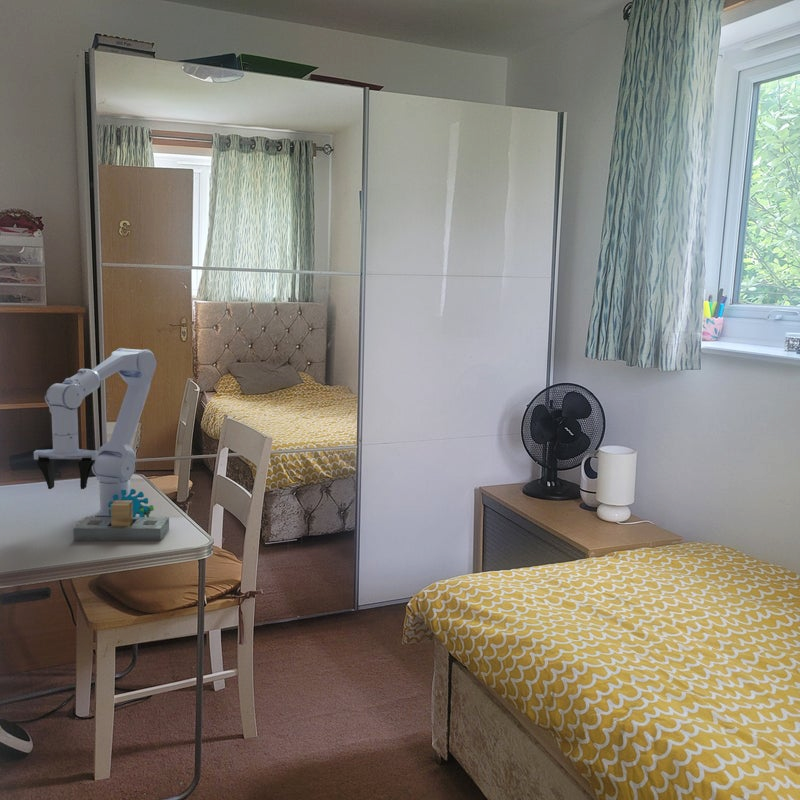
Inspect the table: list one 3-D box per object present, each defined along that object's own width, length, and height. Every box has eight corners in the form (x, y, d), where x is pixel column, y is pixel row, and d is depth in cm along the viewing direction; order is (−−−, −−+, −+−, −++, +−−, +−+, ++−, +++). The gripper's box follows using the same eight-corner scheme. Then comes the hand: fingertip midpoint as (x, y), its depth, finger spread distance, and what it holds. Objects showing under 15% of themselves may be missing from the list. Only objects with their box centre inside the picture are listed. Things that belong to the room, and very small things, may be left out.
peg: (116, 532, 187) (115, 500, 186) (133, 532, 187) (132, 500, 186) (111, 537, 183) (110, 505, 182) (128, 537, 183) (128, 505, 182)
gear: (102, 519, 191) (113, 485, 197) (105, 530, 196) (115, 496, 202) (147, 525, 192) (157, 490, 198) (149, 535, 197) (158, 501, 203)
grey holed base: (86, 528, 189) (85, 516, 188) (169, 528, 190) (168, 516, 190) (73, 540, 180) (73, 527, 179) (160, 540, 181) (160, 528, 181)
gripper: (27, 436, 180) (30, 492, 182) (90, 436, 181) (92, 492, 183) (39, 430, 187) (41, 484, 189) (100, 431, 188) (101, 484, 190)
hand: (67, 488), depth 186 cm, fingers open, 7 cm apart
